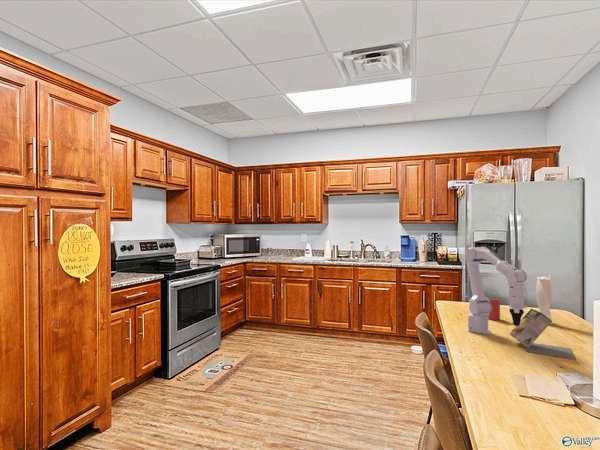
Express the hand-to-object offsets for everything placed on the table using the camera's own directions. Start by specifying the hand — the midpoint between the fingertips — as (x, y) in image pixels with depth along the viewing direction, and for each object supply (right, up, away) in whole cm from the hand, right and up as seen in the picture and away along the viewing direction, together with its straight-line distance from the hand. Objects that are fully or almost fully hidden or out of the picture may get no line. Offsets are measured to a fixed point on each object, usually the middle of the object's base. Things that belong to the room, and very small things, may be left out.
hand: (516, 325), depth 159 cm
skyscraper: (+38, -10, +35) cm, 53 cm away
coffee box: (+1, -8, 0) cm, 8 cm away
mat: (+10, -9, -6) cm, 15 cm away
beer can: (+14, -9, +44) cm, 47 cm away
